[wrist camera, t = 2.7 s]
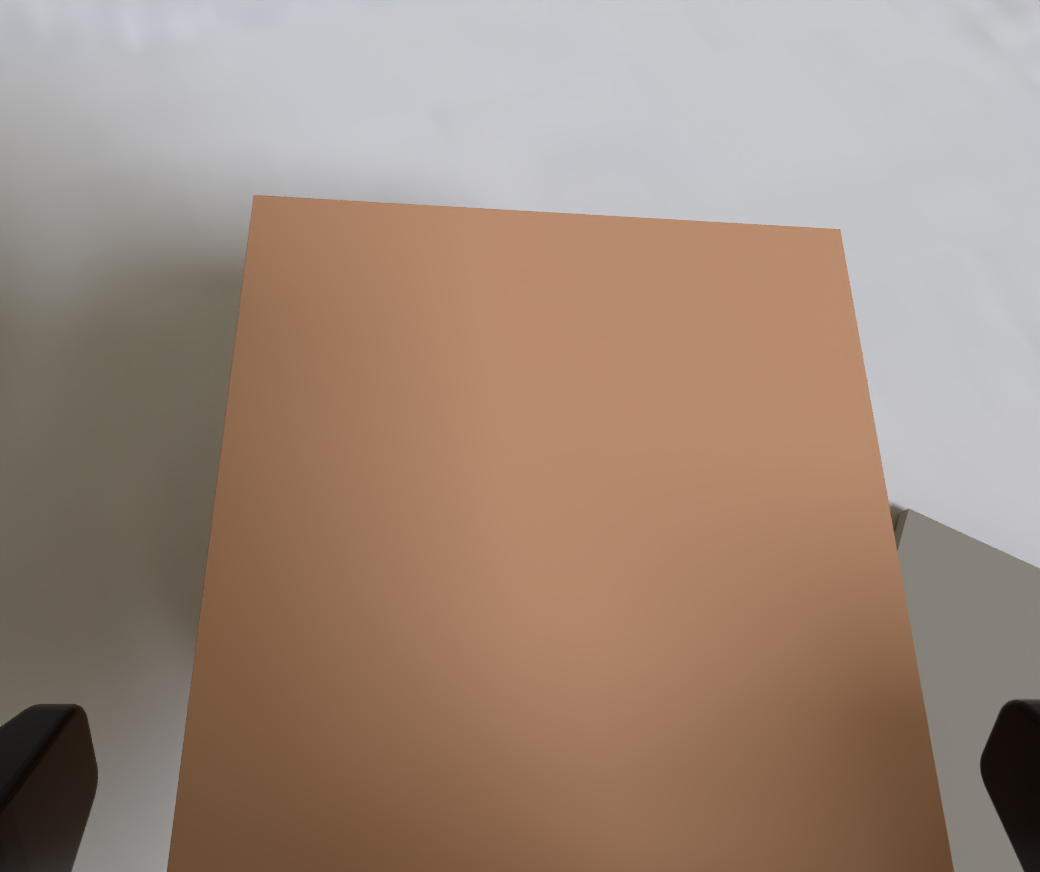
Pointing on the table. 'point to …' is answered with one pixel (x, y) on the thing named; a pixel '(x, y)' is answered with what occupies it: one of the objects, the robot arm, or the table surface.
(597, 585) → the tan cardboard box
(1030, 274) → the table surface
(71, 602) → the table surface
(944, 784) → the rubber mat
